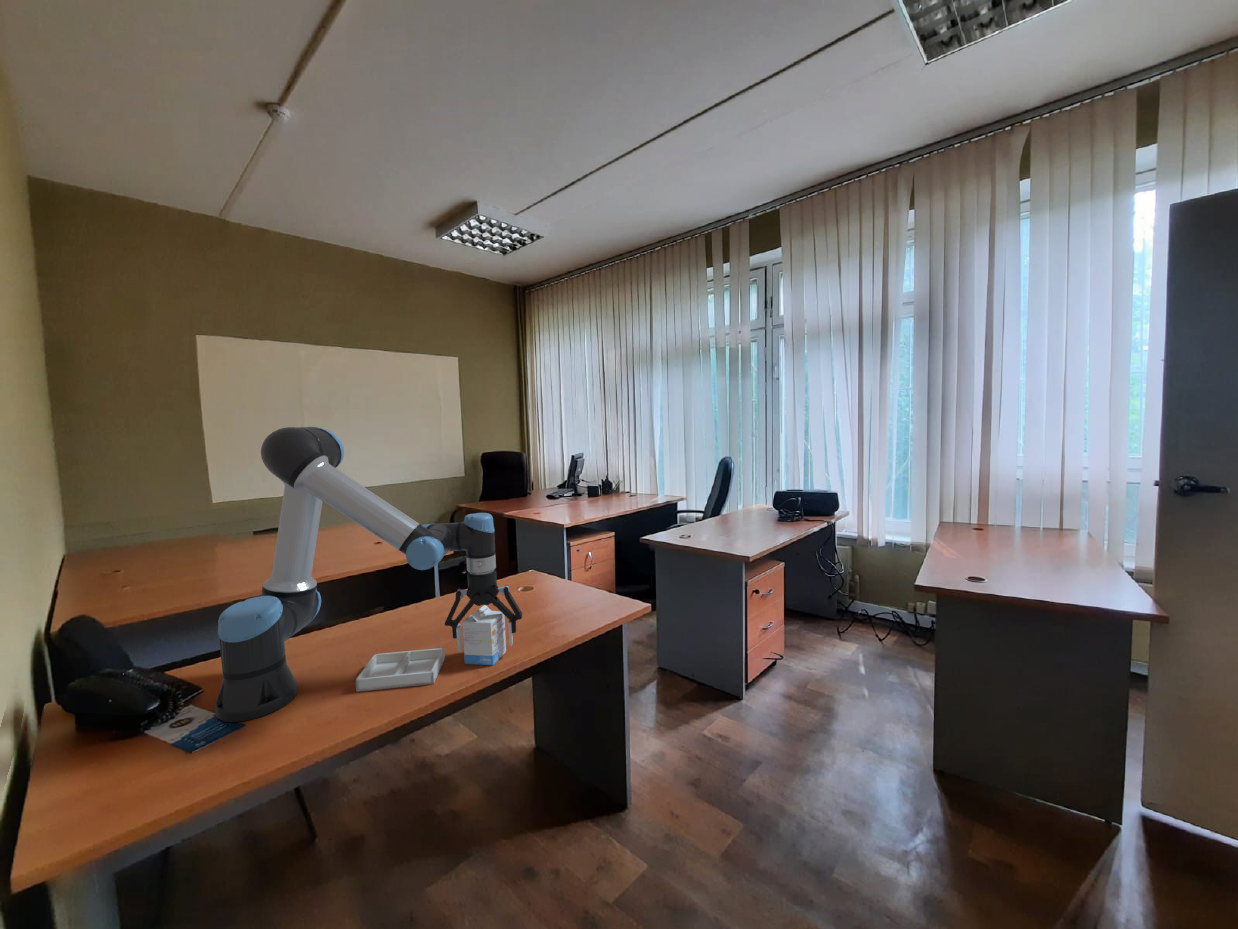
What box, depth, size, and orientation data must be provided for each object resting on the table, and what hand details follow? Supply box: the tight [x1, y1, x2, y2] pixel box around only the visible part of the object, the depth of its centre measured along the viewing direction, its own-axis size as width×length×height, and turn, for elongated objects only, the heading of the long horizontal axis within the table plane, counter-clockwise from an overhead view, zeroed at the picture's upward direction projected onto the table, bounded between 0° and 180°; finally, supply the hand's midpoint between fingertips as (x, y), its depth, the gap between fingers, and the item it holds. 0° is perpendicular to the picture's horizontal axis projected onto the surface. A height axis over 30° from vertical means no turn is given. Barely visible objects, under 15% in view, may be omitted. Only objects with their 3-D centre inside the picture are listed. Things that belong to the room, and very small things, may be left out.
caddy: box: [355, 647, 446, 693], centre depth 122 cm, size 18×13×3 cm
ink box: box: [462, 605, 507, 666], centre depth 129 cm, size 9×8×13 cm
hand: (485, 646), depth 129 cm, fingers open, 13 cm apart
